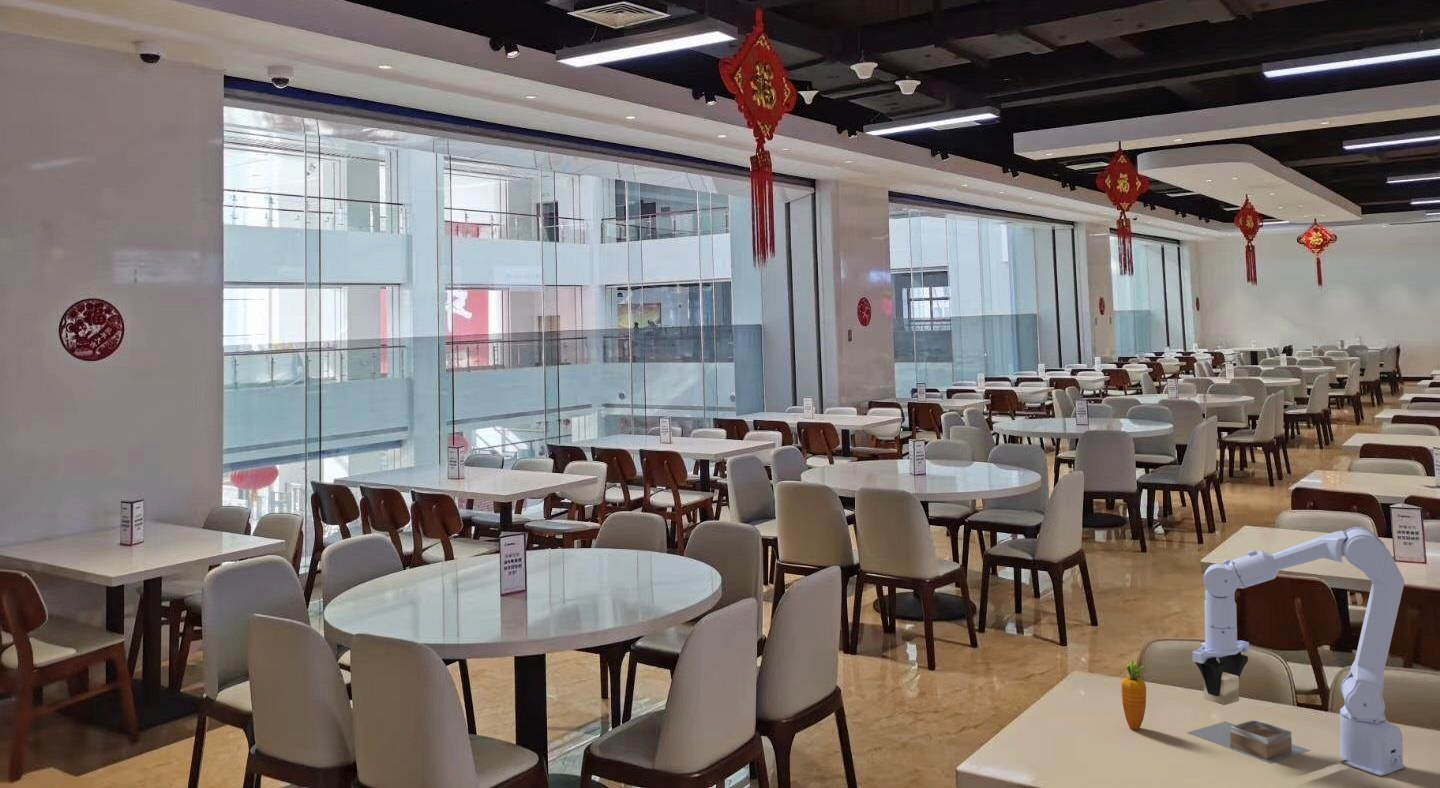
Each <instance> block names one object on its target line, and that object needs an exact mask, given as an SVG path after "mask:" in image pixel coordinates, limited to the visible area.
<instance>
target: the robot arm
mask: <svg viewBox="0 0 1440 788" xmlns="http://www.w3.org/2000/svg"><path fill="white" fill-rule="evenodd" d="M1247 552H1248V553H1247V555H1243V556H1240V557H1237V558H1234V559H1231V560H1229V558H1227V559H1224V560H1223V563H1214V564H1211V565H1209V566H1208V567H1207V569H1206V570H1205V571H1204V575H1203V585H1204V588H1205V592H1204V598H1205V600H1204V635H1205V636H1204V640H1205V641H1204V642H1201V643H1200V647H1199V648H1197V650H1193V651H1192V662H1194V663H1195V665H1196V666H1197V667H1198V669H1199V671H1200V674H1201V675H1202V678H1203V682H1204V681H1205V685H1206V688H1207V691H1208V694H1210V695H1214V696H1219V694H1220V688H1221V678H1222V673H1223V672H1225V673H1229V674H1232V675H1236V676H1239V679H1240V678H1241V674H1242V672H1243V670H1244V668H1245V666H1246V665H1247V663H1248V662H1249V656H1247V655H1245V654H1242V653H1249V652H1250V642H1249V641H1245V640H1238V626H1237V623H1238V622H1237V621H1238V619H1237V614H1238V613H1237V603H1236V601H1235V598H1236V597H1235V595H1236V594H1235V592H1236V590H1237V589H1246V588H1249V587H1252V586H1256V585H1259V584H1262V583H1266V582H1268V581H1272V580H1274V579H1276V577H1277V576H1278V573H1279V572H1280V571H1281V570H1284V569H1287V568H1291V567H1295V566H1299V565H1302V564H1305V563H1311V562H1313V561H1316V560H1321V559H1326V560H1330V561H1335V562H1339V563H1343V558H1342V557H1345V559H1346V560H1347V562H1348V563H1350V564H1351V565H1352V566H1353V567H1355V568H1357V569H1359V571H1362V572H1363V573H1364V575H1365V576H1366V577H1367V578H1368V579H1369V581H1370V582H1371V587H1370V591H1369V597H1368V600H1367V604H1366V608H1365V614H1364V618H1363V622H1362V626H1361V631H1360V636H1359V640H1358V645H1357V649H1356V651H1355V652H1356V653H1355V658H1354V661H1353V662H1352V665H1350V669H1349V670H1350V671H1349V673H1348V675H1347V676H1346V677H1345V678H1343V680H1342V681H1341V684H1340V693H1341V696H1342V697H1343V699H1344V705H1343V706H1342V707H1341V708H1339V739H1340V740H1339V742H1340V743H1339V745H1340V753H1339V754H1340V756H1341V757H1342V758H1343V760H1341V761H1340V763H1341V764H1345V765H1347V766H1350V767H1353V768H1356V769H1358V770H1362V771H1365V772H1367V773H1370V774H1373V775H1376V776H1379V777H1380V776H1385V775H1388V774H1391V773H1393V772H1396V771H1399V770H1401V769H1404V768H1405V767H1406V765H1405V764H1404V763H1403V761H1404V759H1403V754H1404V753H1403V752H1404V751H1403V747H1404V746H1403V733H1402V730H1401V728H1400V726H1398V725H1396V724H1393V723H1391V722H1390V721H1388V720H1387V719H1386V715H1385V711H1386V703H1385V701H1384V698H1383V690H1384V684H1385V683H1384V679H1385V678H1384V677H1385V668H1386V664H1387V660H1388V656H1389V651H1390V647H1391V642H1392V639H1393V638H1392V637H1393V633H1394V630H1395V629H1394V628H1395V625H1396V620H1397V617H1398V612H1399V607H1400V604H1401V598H1402V594H1403V591H1404V586H1405V578H1404V576H1403V575H1402V572H1401V570H1400V569H1399V567H1398V565H1397V564H1396V563H1397V562H1396V561H1395V559H1394V557H1393V555H1392V553H1391V551H1390V550H1389V549H1388V548H1387V546H1386V544H1385V543H1384V542H1383V541H1382V540H1381V539H1380V538H1379V537H1378V536H1377V535H1376V534H1375V533H1374V532H1373V531H1372V530H1370V529H1368V528H1365V527H1362V526H1356V527H1355V526H1353V527H1349V528H1348V529H1346V530H1345V531H1343V530H1337V531H1333V532H1330V533H1327V534H1324V535H1321V536H1318V537H1315V538H1312V539H1309V540H1307V541H1305V542H1302V543H1299V544H1295V545H1294V546H1291V547H1289V548H1286V549H1283V550H1280V551H1278V552H1274V553H1270V552H1267V551H1264V550H1259V551H1256V549H1251V550H1248V551H1247ZM1217 659H1218V660H1217Z"/></svg>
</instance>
